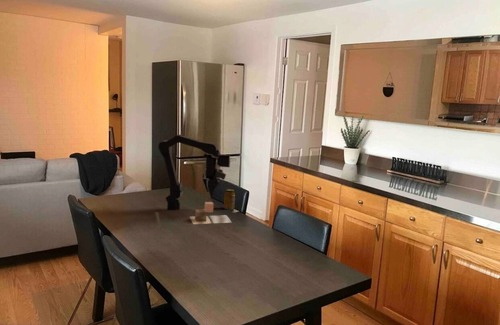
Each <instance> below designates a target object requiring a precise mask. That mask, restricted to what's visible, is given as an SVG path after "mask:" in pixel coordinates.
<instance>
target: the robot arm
mask: <svg viewBox="0 0 500 325" xmlns="http://www.w3.org/2000/svg"><path fill="white" fill-rule="evenodd" d="M178 143H179V144H183V145H185V146H189V147H192V148H196V149H199V150H201V151H202V152H204V154H203V155H202V158H204V159H205V165H204V172H202V173H201V180H202V182H203V185H204V188H205V191H206V193H208V194H209V197H213V195H214V191H215V189H216V187H219V185H220V180H219V179H221V180H223V181H225V178H226V176H227V174H226V173H225V172H224V171H223V170H222V169H220V168H230V166H231V155H230V154H221V152H220V151H219V149H218V145H217V143H216V142H213V141H212V142H211V141H201V140H199V139H198V140H197V139H195V138H191V137H188V136H184V135H182V134H177V135H175V136H173V137H172V138H170V139H165V140H163V141H160V142H159V143H158V150H159V152H160V154H161V156H162V157H163V161H164V163H165V164H164V165H165V167H166V173H167V175H168V181H169V194H168V195H167V196H166V197H165V201H166V208H165V210H169V211H178V210H180V208H181V204H180V199H179V198H180V197H182V195H183V193H184V190H185V189H184V187H183V182H179V180H178V175H177V172H176V168H175V164H174V159H173V156H172V155H173V146H174V145H176V144H178ZM217 166H218V167H220V168H219V169H218V168H217Z"/></svg>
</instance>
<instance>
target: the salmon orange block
mask: <svg viewBox="0 0 500 325" xmlns="http://www.w3.org/2000/svg"><path fill="white" fill-rule="evenodd" d="M204 209H205V210H206V212H207V213H214V202H212V201H204Z"/></svg>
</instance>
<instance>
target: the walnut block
mask: <svg viewBox="0 0 500 325" xmlns="http://www.w3.org/2000/svg"><path fill="white" fill-rule="evenodd" d="M194 210H195V211H194V216H195V220H196V222H201V221H206V217H207V215H208V214H207V212H206V210H205V208H199V209H198V208H197V209H194Z"/></svg>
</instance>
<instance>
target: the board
mask: <svg viewBox="0 0 500 325" xmlns="http://www.w3.org/2000/svg"><path fill="white" fill-rule="evenodd" d="M189 218H190V220H191V223H192V225H206V224H229V223H230V224H232V223H233V221H231V219H230V218H229V217H228V216H227V214H226V215H225V214H224V215H223V214H222V215H208V216H207V217H206V221H201V222H196V220H195V215H194V216H193V215H192V216H189Z"/></svg>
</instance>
